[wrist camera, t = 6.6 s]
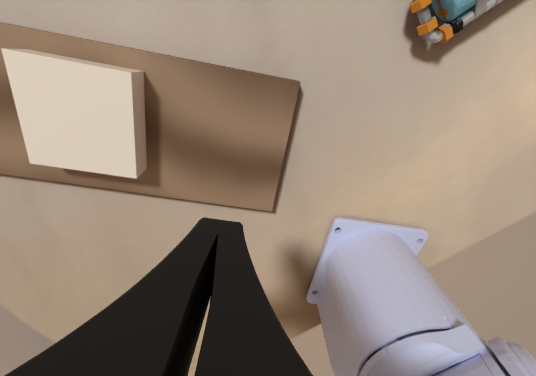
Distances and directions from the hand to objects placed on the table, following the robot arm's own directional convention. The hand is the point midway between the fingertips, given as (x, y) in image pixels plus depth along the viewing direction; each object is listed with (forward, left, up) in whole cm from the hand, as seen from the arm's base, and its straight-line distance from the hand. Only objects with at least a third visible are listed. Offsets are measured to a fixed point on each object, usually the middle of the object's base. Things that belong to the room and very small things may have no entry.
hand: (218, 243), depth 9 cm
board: (0, +7, -10) cm, 12 cm away
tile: (+1, +6, -8) cm, 10 cm away
